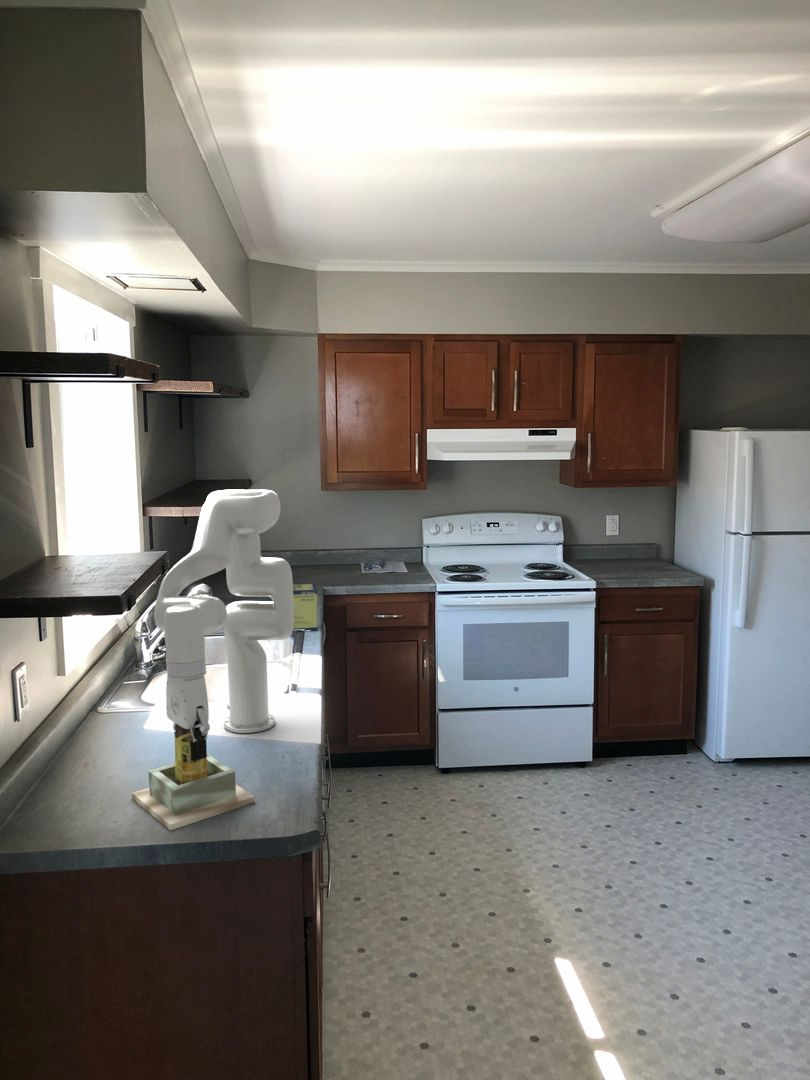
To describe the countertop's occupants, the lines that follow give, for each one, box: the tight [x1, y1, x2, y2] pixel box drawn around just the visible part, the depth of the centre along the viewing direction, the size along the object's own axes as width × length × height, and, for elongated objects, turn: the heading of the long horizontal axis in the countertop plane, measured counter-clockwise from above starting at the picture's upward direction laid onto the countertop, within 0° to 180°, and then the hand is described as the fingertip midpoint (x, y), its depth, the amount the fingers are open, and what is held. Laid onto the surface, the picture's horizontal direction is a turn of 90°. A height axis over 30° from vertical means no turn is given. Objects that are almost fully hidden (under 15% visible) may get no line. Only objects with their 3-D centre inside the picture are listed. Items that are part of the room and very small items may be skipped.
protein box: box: [293, 583, 319, 632], centre depth 309 cm, size 10×16×16 cm
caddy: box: [131, 753, 255, 831], centre depth 172 cm, size 18×18×6 cm
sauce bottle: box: [174, 722, 208, 785], centre depth 170 cm, size 6×6×20 cm
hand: (190, 752), depth 171 cm, fingers closed on sauce bottle, 6 cm apart
